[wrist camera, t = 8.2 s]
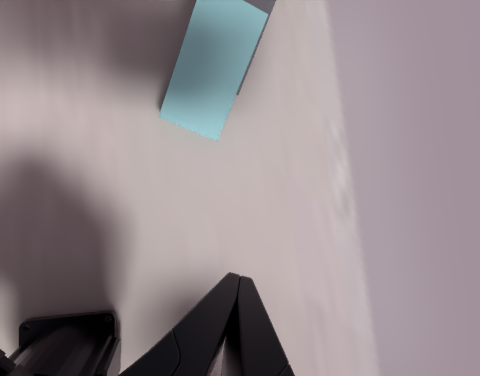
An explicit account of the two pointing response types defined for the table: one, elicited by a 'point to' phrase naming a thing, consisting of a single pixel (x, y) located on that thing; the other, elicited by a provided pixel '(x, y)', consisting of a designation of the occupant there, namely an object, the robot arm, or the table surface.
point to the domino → (212, 64)
